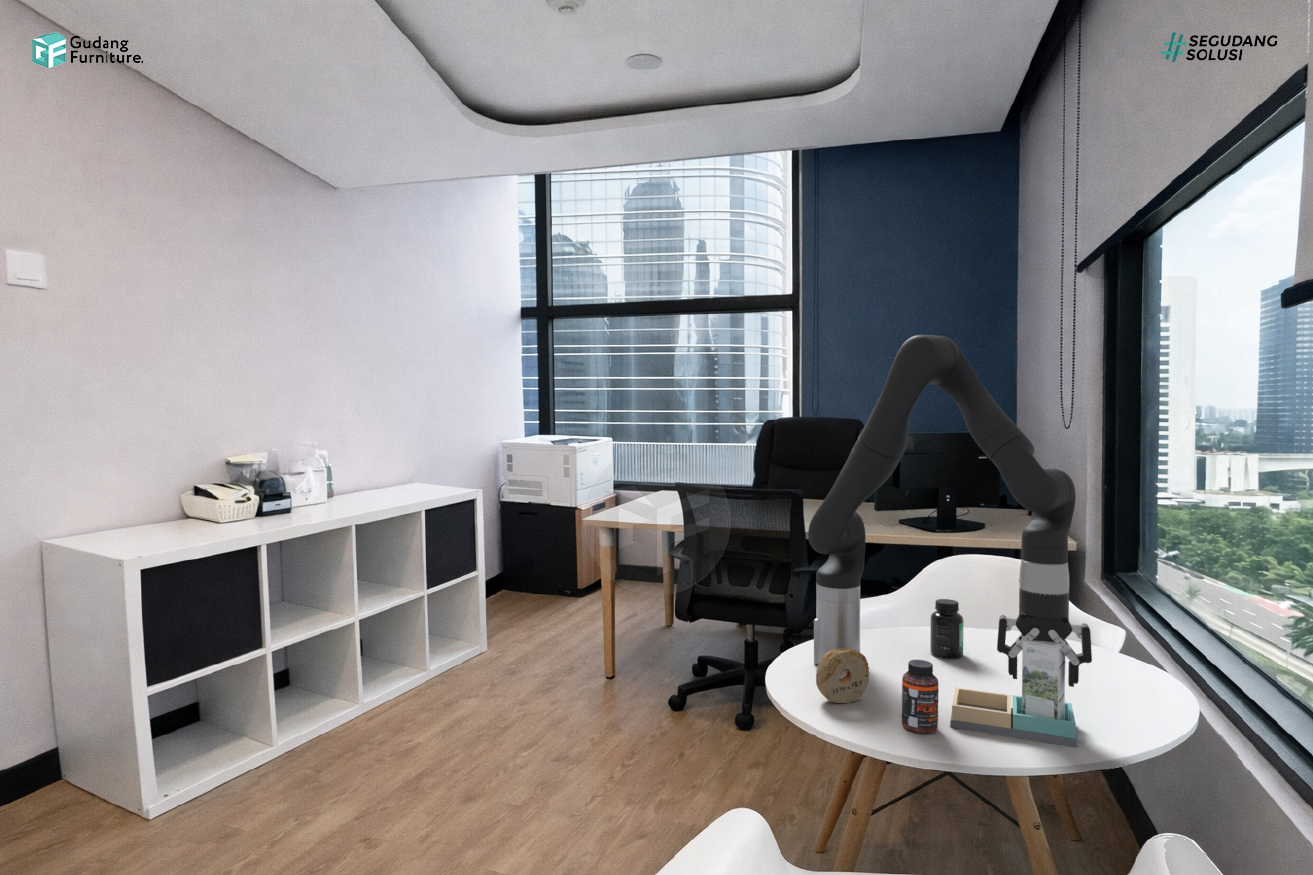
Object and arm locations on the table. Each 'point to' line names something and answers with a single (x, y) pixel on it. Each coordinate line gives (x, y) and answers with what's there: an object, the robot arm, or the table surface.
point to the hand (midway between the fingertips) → (1042, 681)
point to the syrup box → (1043, 679)
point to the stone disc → (850, 683)
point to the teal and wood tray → (1009, 718)
